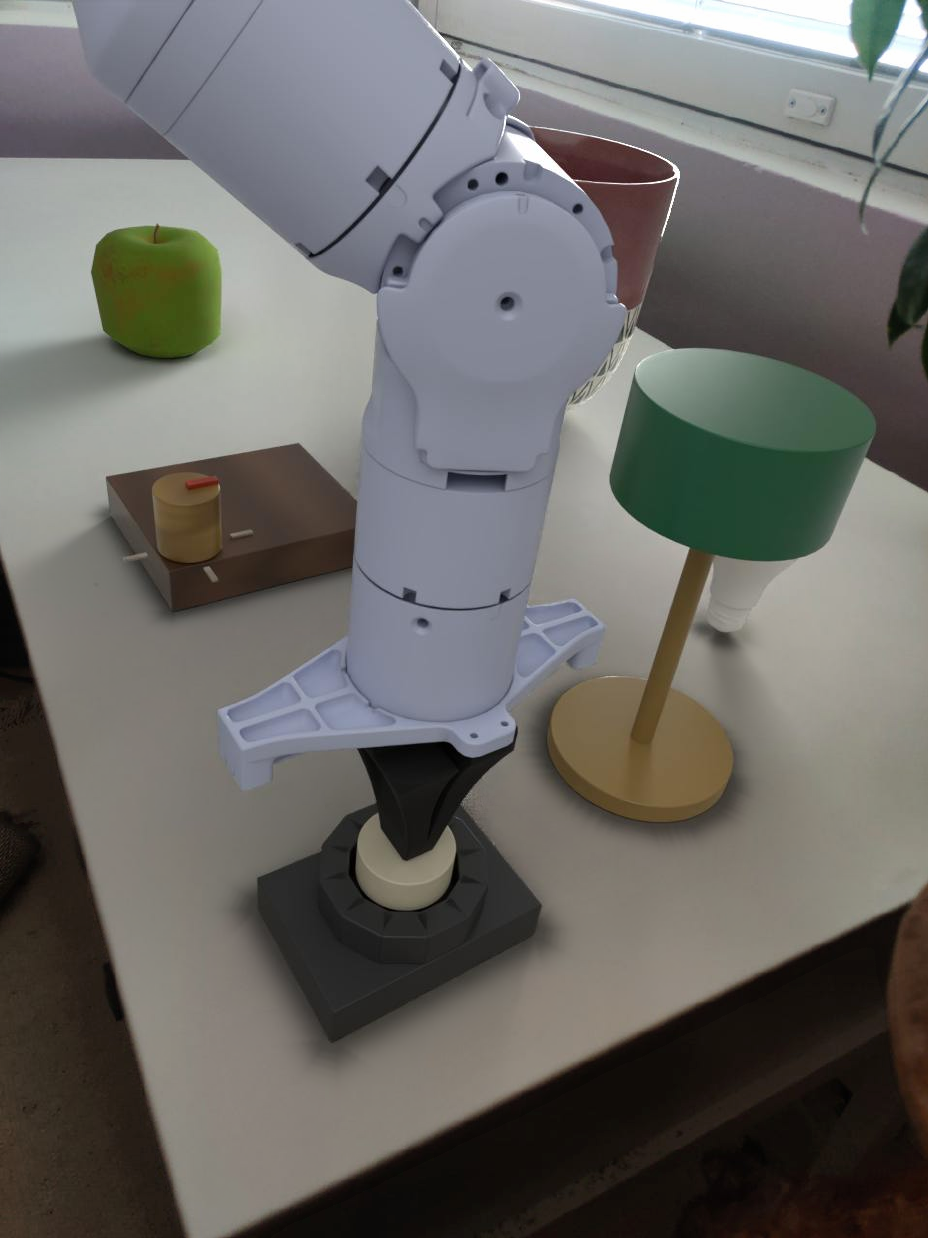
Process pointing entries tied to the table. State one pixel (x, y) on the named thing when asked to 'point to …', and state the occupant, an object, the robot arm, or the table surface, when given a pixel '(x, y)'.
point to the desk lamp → (705, 552)
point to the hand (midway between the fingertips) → (406, 838)
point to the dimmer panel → (245, 524)
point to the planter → (618, 219)
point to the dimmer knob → (187, 517)
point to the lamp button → (402, 870)
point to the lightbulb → (738, 589)
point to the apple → (158, 289)
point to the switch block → (389, 925)
